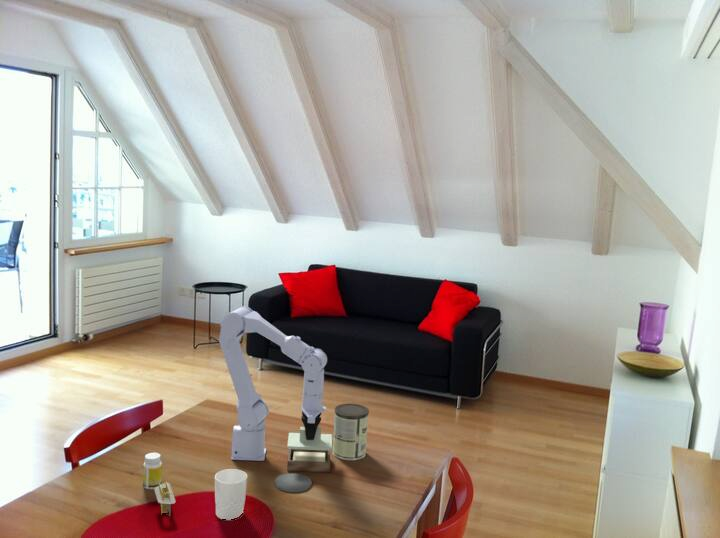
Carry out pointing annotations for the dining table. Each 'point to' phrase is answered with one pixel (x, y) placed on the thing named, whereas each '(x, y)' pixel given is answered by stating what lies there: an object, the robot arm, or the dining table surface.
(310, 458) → the box
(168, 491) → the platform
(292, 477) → the stone
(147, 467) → the supplement bottle
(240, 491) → the white cup
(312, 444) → the lid
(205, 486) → the dining table surface
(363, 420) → the coffee can
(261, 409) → the robot arm
